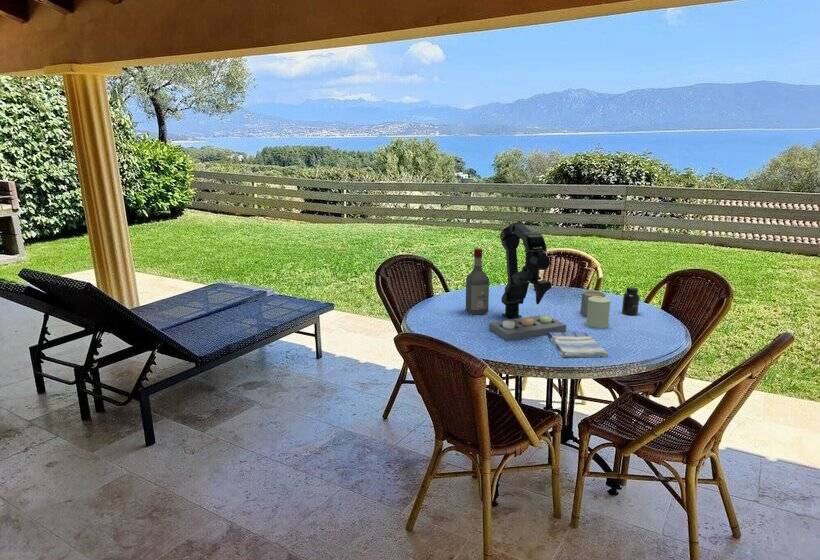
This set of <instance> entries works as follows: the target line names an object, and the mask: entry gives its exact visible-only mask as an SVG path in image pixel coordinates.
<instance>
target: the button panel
mask: <svg viewBox="0 0 820 560" xmlns="http://www.w3.org/2000/svg"><path fill="white" fill-rule="evenodd" d="M542 315H543V314H541V315H533V316H532V315H531V316H526V317H524V318H531V319H533V320H534V324H533V326H529V327H524V326H522V325H521V319H522V318H523V317H518V318H511V319H505V320H504V319H503V320H498V321H490V322H488V330H489V329H490V330H489V331H491V332H492V331H493V333H494V334H495V333H496V334H495V335H497V336H498V335H499V336H498V337H500V338H502V339H503V340H505V341H506V342H510V341H517V340H522V339H530V338H536V337H542V336H548V332H555V333H557V332H567V324H566V323H563V322H561V321H560V320H557V319H555V318H553V317H552V323H549V324H542V323H540V316H542ZM507 320H508V321H514V322H515V329H509V330H505V329H504V328H502V326H503V321H507Z"/></svg>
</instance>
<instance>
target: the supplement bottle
mask: <svg viewBox="0 0 820 560" xmlns="http://www.w3.org/2000/svg"><path fill="white" fill-rule="evenodd" d="M638 292H639V287H635V286H627V287H626V289H625V293H624V294H623V295H622V296H623V297H622V306H621V313H622V314H623V315H626V314H627V315H626V316H637V315H638V313H639V305H640V295H639V294H638Z"/></svg>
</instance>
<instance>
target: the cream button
mask: <svg viewBox="0 0 820 560" xmlns="http://www.w3.org/2000/svg"><path fill="white" fill-rule="evenodd" d="M506 320H507V321H504V320H502V321H503V326H502V328H504V329H505V330H509V329H515V322H514V321H508V320H509V319H506Z"/></svg>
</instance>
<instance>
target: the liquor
mask: <svg viewBox="0 0 820 560" xmlns="http://www.w3.org/2000/svg"><path fill="white" fill-rule="evenodd" d="M473 258H474V259H473V268H472V269H473V270H472V271H471V272H470V273H469V274H468V275H467V276H466V279H465V312H466V311H467V312H468V313H467V312H466V313H467V314H469V313H470V314H469V315H471V314H472V315H471V316H475V315H478V316H482V315H481V314H485V315H486V313H487V314H488V312H489V304H490V303H489V297H490V278H489V276H488V275H487V274H486V272H485V271H484V270H483V267H482V266H483V263H482V262H483V248H474V249H473Z"/></svg>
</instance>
